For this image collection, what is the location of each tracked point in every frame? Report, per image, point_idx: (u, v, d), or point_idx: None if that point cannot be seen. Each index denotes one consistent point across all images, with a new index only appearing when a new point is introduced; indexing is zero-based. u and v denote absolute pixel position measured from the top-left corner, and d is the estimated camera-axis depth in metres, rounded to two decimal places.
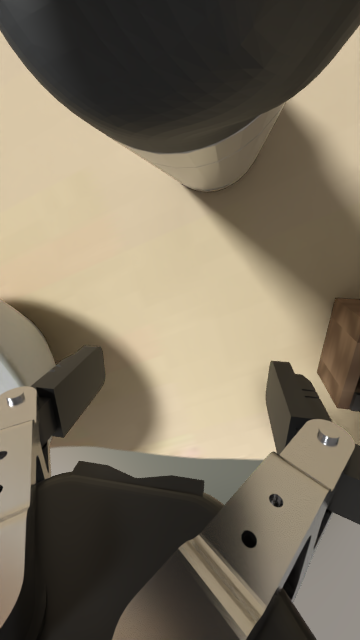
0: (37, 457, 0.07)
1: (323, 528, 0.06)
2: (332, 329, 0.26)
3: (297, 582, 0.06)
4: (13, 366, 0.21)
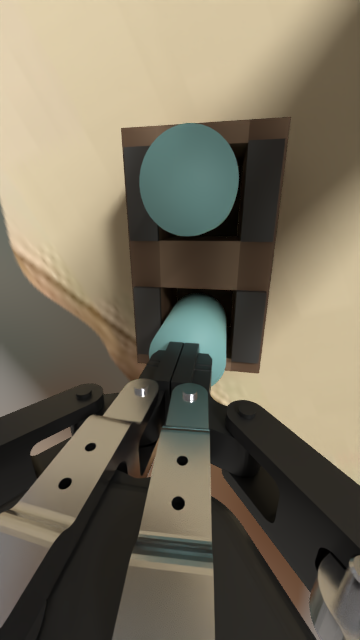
0: (125, 462, 0.06)
1: None
2: None
3: None
4: None
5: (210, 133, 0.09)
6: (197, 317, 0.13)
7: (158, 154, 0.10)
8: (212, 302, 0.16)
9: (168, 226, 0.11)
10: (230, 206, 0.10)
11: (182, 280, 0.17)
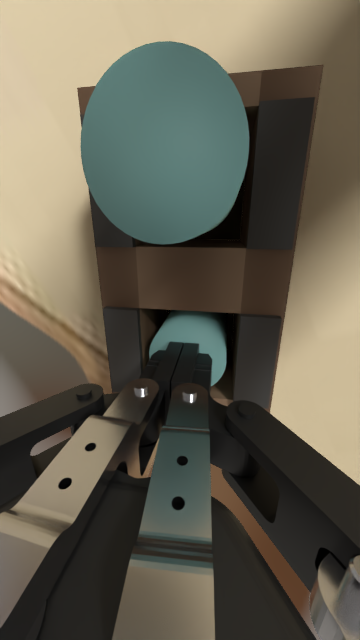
0: (125, 462, 0.06)
1: None
2: None
3: None
4: None
5: (199, 61, 0.05)
6: (197, 316, 0.13)
7: (109, 103, 0.06)
8: None
9: (132, 228, 0.07)
10: (234, 194, 0.06)
11: (167, 300, 0.12)
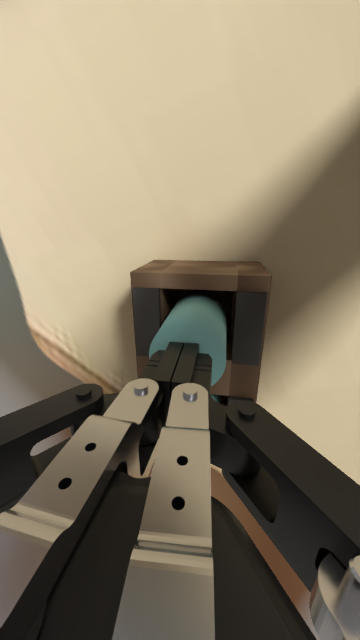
0: (125, 462, 0.06)
1: None
2: (222, 263, 0.20)
3: None
4: None
5: (204, 331, 0.12)
6: None
7: (164, 339, 0.13)
8: None
9: None
10: (220, 376, 0.13)
11: None
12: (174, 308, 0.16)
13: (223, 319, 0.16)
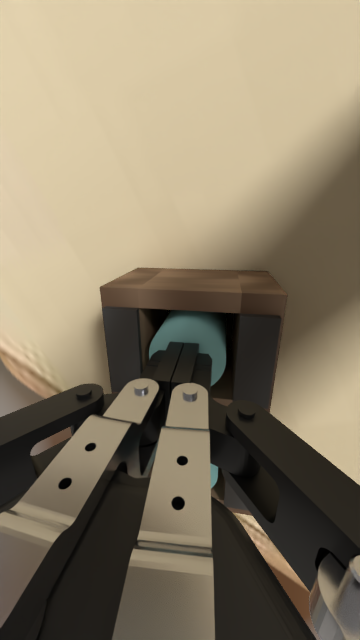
0: (125, 462, 0.06)
1: None
2: (221, 272, 0.16)
3: None
4: None
5: (204, 330, 0.12)
6: None
7: (164, 338, 0.13)
8: None
9: None
10: (219, 376, 0.13)
11: None
12: None
13: (223, 319, 0.16)
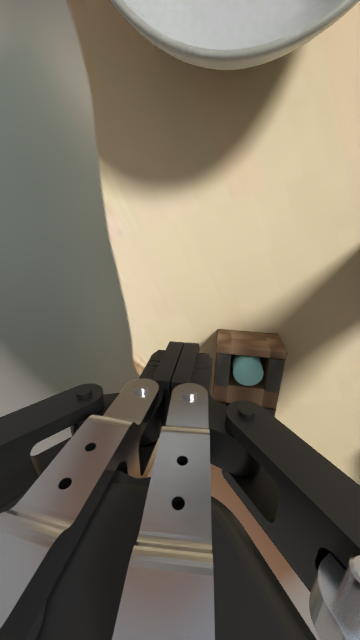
0: (124, 462, 0.06)
1: None
2: (258, 335, 0.38)
3: None
4: (315, 32, 0.18)
5: (256, 363, 0.34)
6: None
7: (240, 365, 0.34)
8: None
9: (240, 382, 0.35)
10: (260, 380, 0.35)
11: (236, 400, 0.37)
12: None
13: None
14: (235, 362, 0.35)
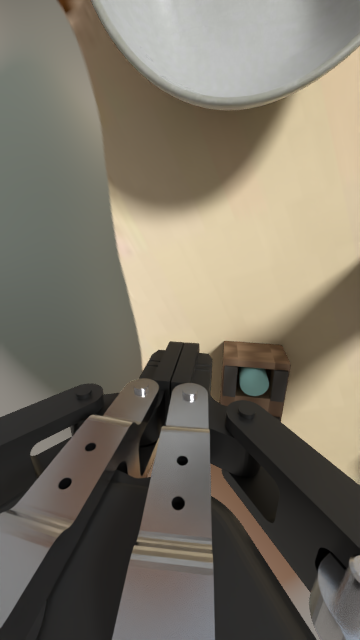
0: (125, 462, 0.06)
1: None
2: (262, 346, 0.40)
3: None
4: (311, 81, 0.20)
5: (261, 375, 0.36)
6: None
7: (246, 377, 0.36)
8: None
9: (247, 392, 0.37)
10: (266, 390, 0.36)
11: None
12: None
13: None
14: (241, 373, 0.37)
